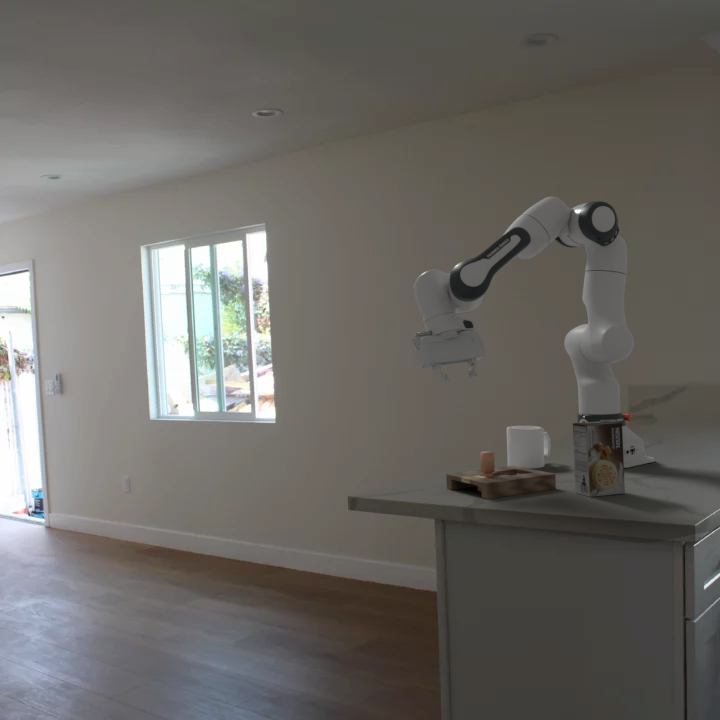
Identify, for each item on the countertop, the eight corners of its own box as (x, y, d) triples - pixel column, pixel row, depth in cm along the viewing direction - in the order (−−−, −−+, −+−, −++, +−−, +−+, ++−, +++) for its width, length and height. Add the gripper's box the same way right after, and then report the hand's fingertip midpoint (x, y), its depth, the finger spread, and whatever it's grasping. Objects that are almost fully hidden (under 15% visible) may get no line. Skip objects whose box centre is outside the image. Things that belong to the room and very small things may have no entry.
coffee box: (609, 489, 186) (607, 420, 185) (625, 494, 179) (623, 422, 179) (574, 492, 183) (572, 422, 183) (589, 497, 177) (587, 425, 177)
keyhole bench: (512, 479, 202) (512, 465, 202) (555, 488, 188) (555, 473, 188) (446, 488, 193) (446, 473, 193) (487, 498, 179) (486, 483, 179)
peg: (490, 487, 192) (489, 450, 192) (503, 490, 188) (502, 452, 188) (473, 490, 190) (472, 452, 190) (486, 493, 186) (485, 454, 186)
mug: (534, 460, 233) (533, 423, 232) (560, 464, 224) (559, 426, 224) (499, 465, 225) (498, 427, 225) (526, 469, 217) (525, 430, 216)
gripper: (417, 328, 201) (433, 380, 198) (479, 321, 212) (496, 370, 208) (404, 338, 206) (420, 388, 203) (466, 330, 217) (482, 378, 213)
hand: (459, 379), depth 206 cm, fingers open, 8 cm apart
